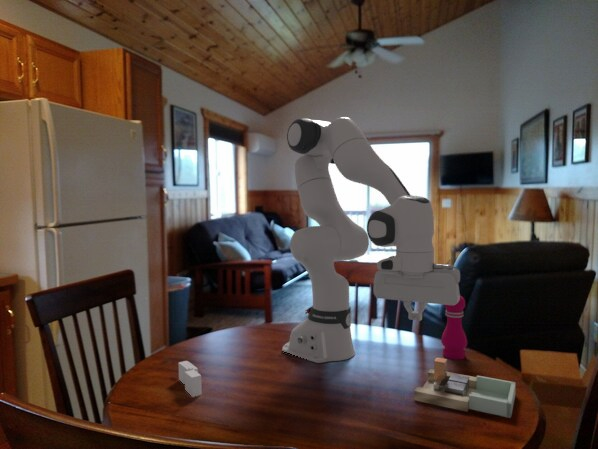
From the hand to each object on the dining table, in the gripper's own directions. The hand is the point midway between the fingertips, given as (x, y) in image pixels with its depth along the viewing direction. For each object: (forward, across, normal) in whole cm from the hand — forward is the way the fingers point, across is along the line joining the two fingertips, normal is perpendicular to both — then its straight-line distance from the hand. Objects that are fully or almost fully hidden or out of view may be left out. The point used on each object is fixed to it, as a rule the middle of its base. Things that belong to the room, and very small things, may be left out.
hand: (415, 319), depth 106 cm
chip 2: (+17, -10, +2) cm, 19 cm away
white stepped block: (+18, +50, +26) cm, 59 cm away
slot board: (+18, -7, 0) cm, 19 cm away
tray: (+18, -17, 0) cm, 24 cm away
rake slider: (+16, -6, 0) cm, 17 cm away
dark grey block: (+17, -10, -2) cm, 19 cm away
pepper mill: (+18, -4, -28) cm, 33 cm away
